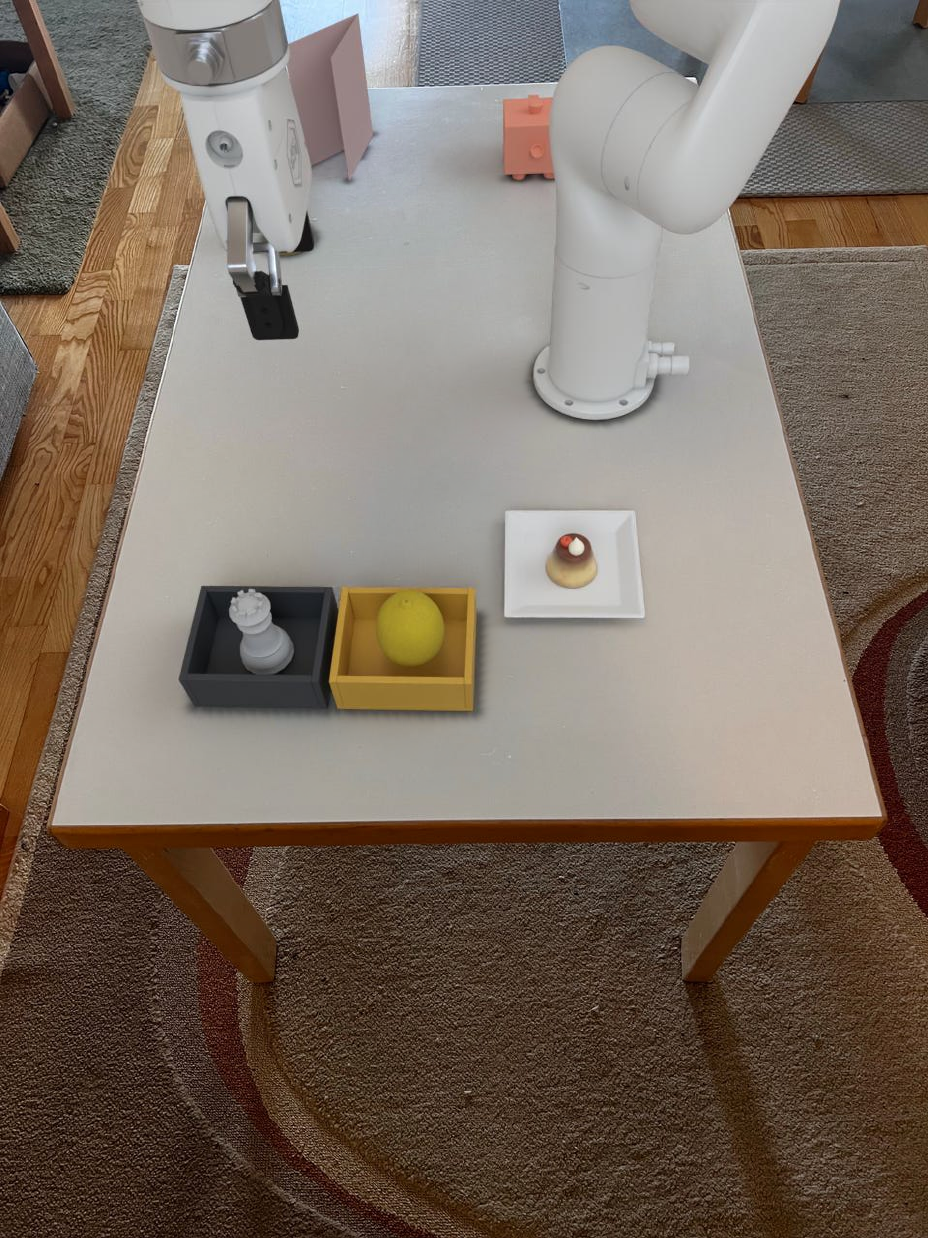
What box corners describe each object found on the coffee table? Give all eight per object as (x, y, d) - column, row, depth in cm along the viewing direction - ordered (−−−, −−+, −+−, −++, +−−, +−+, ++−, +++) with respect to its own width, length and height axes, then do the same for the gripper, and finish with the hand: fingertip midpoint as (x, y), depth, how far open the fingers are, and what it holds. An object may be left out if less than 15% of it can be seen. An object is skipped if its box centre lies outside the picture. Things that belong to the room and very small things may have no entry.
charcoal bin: (340, 616, 80) (332, 586, 76) (327, 709, 75) (318, 681, 71) (215, 615, 81) (201, 585, 77) (194, 706, 75) (178, 679, 72)
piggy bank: (505, 196, 115) (505, 131, 108) (502, 145, 122) (502, 80, 115) (567, 194, 115) (571, 128, 108) (561, 143, 121) (564, 78, 115)
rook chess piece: (233, 668, 77) (207, 615, 70) (258, 627, 79) (236, 572, 72) (279, 685, 76) (257, 632, 69) (304, 642, 78) (285, 588, 71)
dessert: (505, 517, 86) (505, 483, 82) (633, 517, 85) (639, 483, 81) (504, 624, 79) (504, 592, 75) (643, 625, 78) (651, 592, 74)
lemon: (425, 694, 75) (418, 642, 68) (369, 666, 76) (356, 613, 70) (459, 644, 77) (455, 589, 71) (404, 618, 79) (394, 562, 72)
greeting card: (369, 132, 125) (353, 10, 112) (403, 152, 122) (392, 29, 109) (302, 165, 121) (279, 43, 108) (336, 187, 117) (316, 64, 105)
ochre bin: (476, 617, 79) (475, 587, 76) (473, 711, 74) (471, 683, 71) (349, 616, 80) (341, 586, 76) (337, 709, 75) (328, 681, 71)
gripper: (263, 113, 46) (325, 372, 61) (301, -38, 56) (347, 217, 70) (119, 121, 47) (214, 376, 61) (181, -31, 56) (251, 221, 70)
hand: (285, 291), depth 66 cm, fingers open, 9 cm apart
